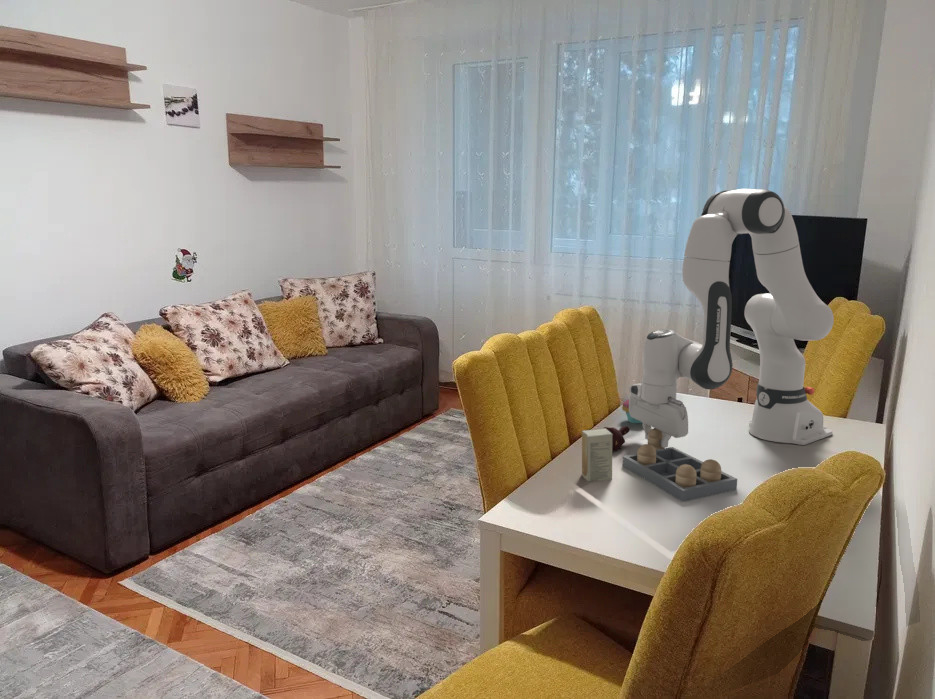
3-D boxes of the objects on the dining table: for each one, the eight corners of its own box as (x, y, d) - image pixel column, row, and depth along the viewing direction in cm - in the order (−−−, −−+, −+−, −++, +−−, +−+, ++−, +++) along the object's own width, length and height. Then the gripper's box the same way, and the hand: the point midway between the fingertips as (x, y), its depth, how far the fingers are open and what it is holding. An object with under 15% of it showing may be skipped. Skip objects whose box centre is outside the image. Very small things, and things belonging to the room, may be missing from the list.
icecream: (606, 439, 168) (641, 430, 177) (584, 425, 173) (619, 417, 182) (598, 463, 170) (633, 453, 180) (577, 449, 175) (612, 440, 185)
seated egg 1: (647, 464, 165) (649, 440, 164) (659, 470, 162) (660, 446, 160) (633, 467, 164) (634, 443, 163) (644, 473, 160) (645, 449, 159)
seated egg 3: (710, 480, 155) (712, 455, 154) (724, 487, 151) (726, 461, 150) (695, 483, 154) (697, 458, 152) (709, 491, 150) (710, 465, 148)
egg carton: (671, 459, 171) (672, 446, 170) (736, 493, 151) (737, 478, 150) (622, 469, 165) (622, 456, 164) (682, 505, 145) (683, 490, 144)
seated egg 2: (686, 485, 153) (687, 460, 152) (699, 493, 149) (701, 466, 148) (670, 489, 151) (672, 463, 150) (683, 496, 147) (685, 470, 146)
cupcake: (632, 415, 207) (634, 377, 204) (656, 421, 200) (658, 382, 198) (616, 421, 201) (617, 382, 198) (640, 427, 195) (642, 388, 192)
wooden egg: (657, 446, 180) (658, 424, 179) (668, 452, 176) (669, 429, 175) (643, 449, 178) (644, 427, 177) (654, 454, 174) (655, 432, 173)
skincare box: (605, 476, 161) (607, 427, 159) (612, 483, 157) (614, 433, 155) (580, 478, 160) (581, 429, 158) (586, 485, 156) (587, 435, 154)
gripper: (696, 401, 165) (693, 454, 168) (644, 381, 184) (642, 429, 187) (675, 404, 163) (672, 458, 166) (625, 384, 182) (623, 433, 185)
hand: (656, 443), depth 177 cm, fingers closed on wooden egg, 4 cm apart
